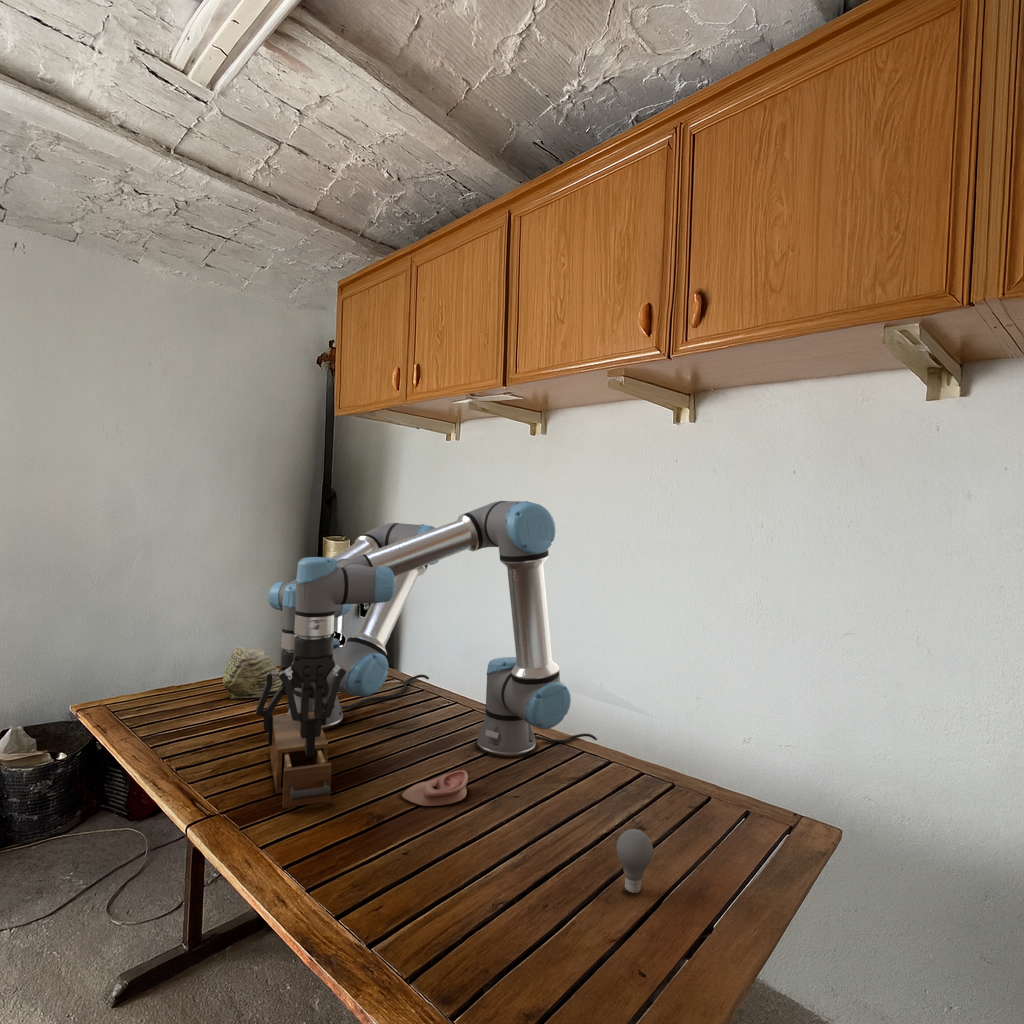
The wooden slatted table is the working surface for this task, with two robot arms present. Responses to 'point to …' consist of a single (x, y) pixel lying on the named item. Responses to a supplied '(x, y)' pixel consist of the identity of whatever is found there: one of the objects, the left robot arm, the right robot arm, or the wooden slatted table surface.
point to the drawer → (305, 778)
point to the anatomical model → (439, 790)
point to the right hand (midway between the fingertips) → (309, 753)
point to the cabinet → (290, 744)
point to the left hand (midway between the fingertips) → (294, 740)
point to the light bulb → (634, 857)
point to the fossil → (249, 673)
